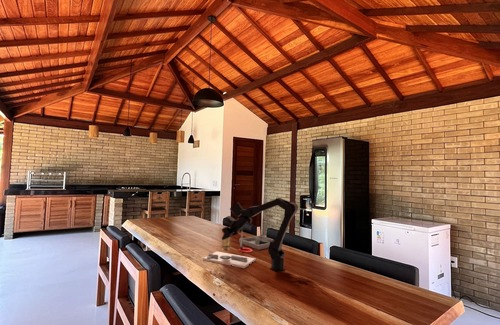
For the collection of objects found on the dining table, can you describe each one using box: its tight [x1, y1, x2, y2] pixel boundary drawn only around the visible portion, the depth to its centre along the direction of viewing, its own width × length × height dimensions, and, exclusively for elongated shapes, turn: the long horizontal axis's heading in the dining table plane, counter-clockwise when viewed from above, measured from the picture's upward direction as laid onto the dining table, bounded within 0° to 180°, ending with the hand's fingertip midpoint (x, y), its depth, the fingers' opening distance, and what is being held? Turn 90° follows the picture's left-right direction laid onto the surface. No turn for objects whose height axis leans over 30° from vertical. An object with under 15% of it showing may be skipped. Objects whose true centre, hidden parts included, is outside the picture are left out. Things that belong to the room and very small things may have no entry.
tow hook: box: [237, 231, 253, 254], centre depth 187 cm, size 8×13×9 cm
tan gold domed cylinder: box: [221, 230, 231, 252], centre depth 167 cm, size 5×5×13 cm
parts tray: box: [238, 235, 275, 251], centre depth 206 cm, size 22×22×3 cm
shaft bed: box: [202, 251, 257, 269], centre depth 166 cm, size 28×16×3 cm, turn 65°
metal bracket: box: [253, 235, 269, 245], centre depth 207 cm, size 14×6×15 cm
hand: (224, 238), depth 168 cm, fingers closed on tan gold domed cylinder, 5 cm apart
